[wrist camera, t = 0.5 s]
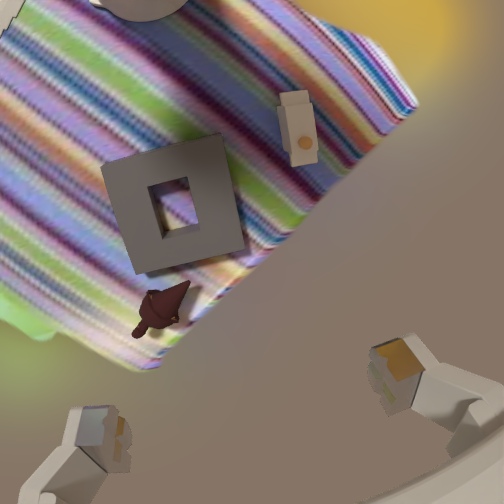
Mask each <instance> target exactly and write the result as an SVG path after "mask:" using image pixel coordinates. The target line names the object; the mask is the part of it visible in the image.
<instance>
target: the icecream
mask: <svg viewBox="0 0 504 504" xmlns="http://www.w3.org/2000/svg"><path fill="white" fill-rule="evenodd" d="M190 283H191V282H190V281H189V280H188V281H185V282H183V283H180V284H178V285H175V286H173V287H170V288H168V289H165V290H163V291H159V290H148V292H147V295H146V296H145V297H144V299H143V300H142V304H141V306H140V309H139V314H140V316H141V318H142V320H141V322H139V324H138V326H137V327H136V328H135V329H134V330H133V332H132V334H131V335H132V337H134V338H136V339H138V338H141V337H142V336H143V335H145V333H146V331H147V330H148V327H152V328H156V329H163V328H165V327H167V326H170V325H172V324H173V323H178V320H179V316H178V309H179V306H180V304H181V302H182V300H183V298H184V296H185V294H186V292H187V290H188V288H189V286H190Z"/></svg>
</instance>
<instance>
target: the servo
mask: <svg viewBox="0 0 504 504" xmlns="http://www.w3.org/2000/svg"><path fill="white" fill-rule="evenodd" d="M279 95H280V101H281V106H276V107H277V113H278V119H279V125H280V131H281V137H282V144H283V150H284V151H286V152H288V153H289V157H290V163H291V166H292V167H296V166H301V165H307V164H312V163H318V158H317V151H319V148H318V140H317V133H316V126H315V119H314V112H313V105H312V103H310V101H309V95H308V90H300V91H292V92H284V93H279Z"/></svg>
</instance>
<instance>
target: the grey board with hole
mask: <svg viewBox="0 0 504 504" xmlns="http://www.w3.org/2000/svg"><path fill="white" fill-rule="evenodd" d="M100 168H101V171H102V175H103V178H104V182H105V185H106V188H107V192H108V195H109V198H110V201H111V205H112V208H113V211H114V214H115V217H116V220H117V223H118V226H119V229H120V232H121V235H122V238H123V241H124V243H125V246H126V249H127V252H128V255H129V257H130V260H131V263H132V265H133V268H134V271H135V273H136V275H138V274H142V273H146V272H150V271H155V270H159V269H163V268H167V267H172V266H176V265H180V264H184V263H189V262H193V261H197V260H201V259H206V258H210V257H214V256H218V255H223V254H227V253H231V252H236V251H240V250H244V249H245V245H244V240H243V235H242V230H241V226H240V221H239V216H238V211H237V206H236V201H235V196H234V191H233V186H232V182H231V177H230V172H229V167H228V162H227V157H226V152H225V147H224V142H223V137H222V134H221V133H218V134H213V135H209V136H204V137H200V138H195V139H191V140H187V141H183V142H179V143H175V144H171V145H167V146H163V147H159V148H156V149H152V150H148V151H145V152H141V153H138V154H134V155H131V156H128V157H124V158H121V159H118V160H114V161H111V162H108V163H105V164H104V165H103V166H101V167H100ZM183 177H187V178H188V182H189V186H190V190H191V194H192V198H193V202H194V206H195V210H196V214H197V218H198V222H199V223H198V224H194V225H190V226H186V227H182V228H177V229H173V230H169V231H165V232H164V229H163V226H162V223H161V219H160V216H159V212H158V209H157V205H156V202H155V198H154V195H153V191H152V188H151V185H155V184H159V183H163V182H167V181H171V180H175V179H178V178H183Z"/></svg>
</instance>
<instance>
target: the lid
mask: <svg viewBox="0 0 504 504" xmlns="http://www.w3.org/2000/svg"><path fill="white" fill-rule="evenodd" d="M24 2H25V0H0V37H1V35H2V33H3V31H4V29H5V30H7V29H8V27H9V25H10V23H11V20H12V18H13V17H17V15H18V13H19V11H20V9H21V7H22V5H23V3H24Z"/></svg>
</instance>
